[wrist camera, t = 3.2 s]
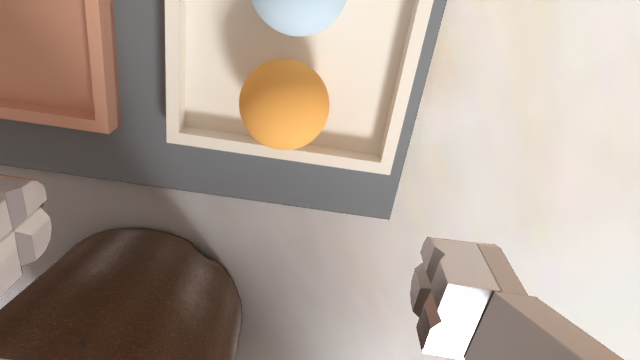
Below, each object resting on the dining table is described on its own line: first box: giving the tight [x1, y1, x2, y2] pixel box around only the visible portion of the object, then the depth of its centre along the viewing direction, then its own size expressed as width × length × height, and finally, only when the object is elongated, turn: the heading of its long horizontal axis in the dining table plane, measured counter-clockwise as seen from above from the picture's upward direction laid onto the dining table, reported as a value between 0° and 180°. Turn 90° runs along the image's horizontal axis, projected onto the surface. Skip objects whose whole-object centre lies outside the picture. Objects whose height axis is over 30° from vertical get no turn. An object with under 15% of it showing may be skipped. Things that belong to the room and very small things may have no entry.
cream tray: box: [165, 0, 434, 175], centre depth 19 cm, size 11×11×1 cm
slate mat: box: [0, 0, 447, 220], centre depth 20 cm, size 18×27×1 cm, turn 81°
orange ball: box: [239, 59, 330, 150], centre depth 19 cm, size 4×4×4 cm
